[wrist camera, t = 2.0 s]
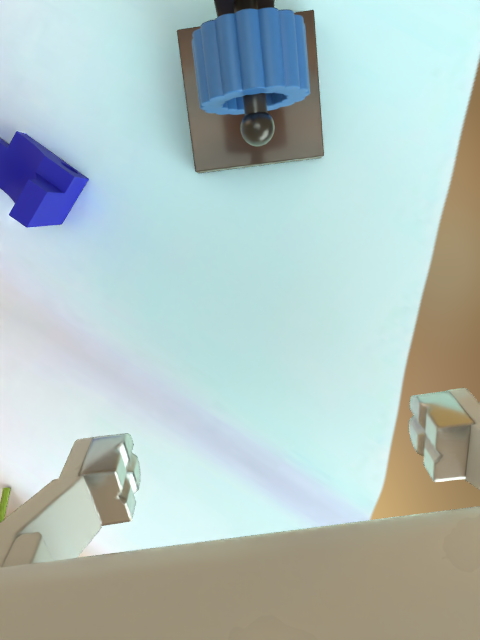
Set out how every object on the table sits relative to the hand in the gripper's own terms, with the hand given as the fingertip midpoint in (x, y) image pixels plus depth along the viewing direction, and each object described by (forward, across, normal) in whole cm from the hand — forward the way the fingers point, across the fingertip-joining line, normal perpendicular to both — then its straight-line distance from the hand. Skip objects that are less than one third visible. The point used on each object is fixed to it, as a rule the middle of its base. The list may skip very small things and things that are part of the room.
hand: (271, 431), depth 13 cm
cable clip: (+30, +18, -7) cm, 36 cm away
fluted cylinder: (+20, -2, -10) cm, 22 cm away
